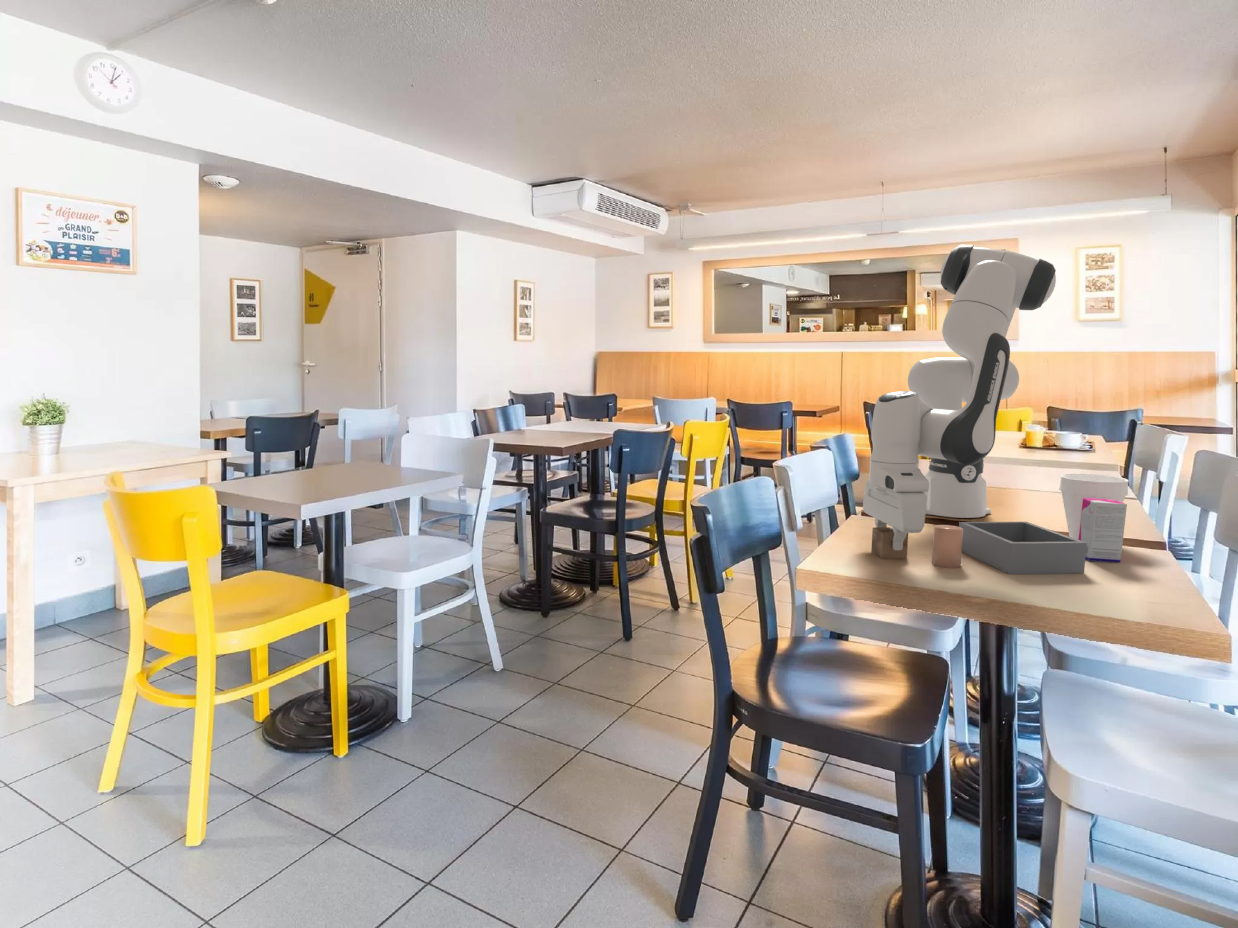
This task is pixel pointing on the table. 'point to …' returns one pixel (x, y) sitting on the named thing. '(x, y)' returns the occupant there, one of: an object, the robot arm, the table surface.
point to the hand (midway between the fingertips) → (889, 545)
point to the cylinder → (947, 546)
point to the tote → (1023, 548)
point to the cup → (1088, 494)
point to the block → (886, 543)
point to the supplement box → (1102, 529)
